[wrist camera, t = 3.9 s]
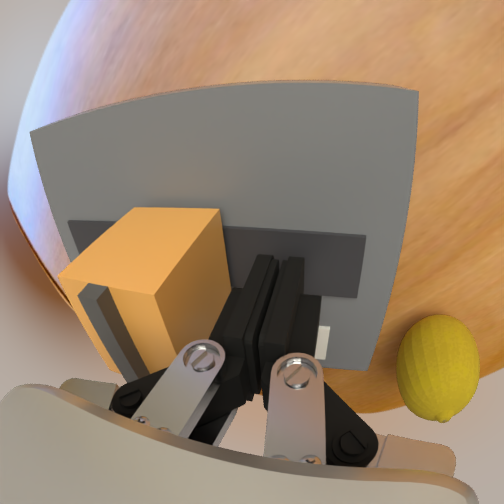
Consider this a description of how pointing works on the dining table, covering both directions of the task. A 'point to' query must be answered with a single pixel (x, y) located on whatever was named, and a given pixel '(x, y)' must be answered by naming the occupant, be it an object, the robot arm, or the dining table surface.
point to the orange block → (150, 286)
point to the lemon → (437, 367)
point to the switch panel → (256, 184)
